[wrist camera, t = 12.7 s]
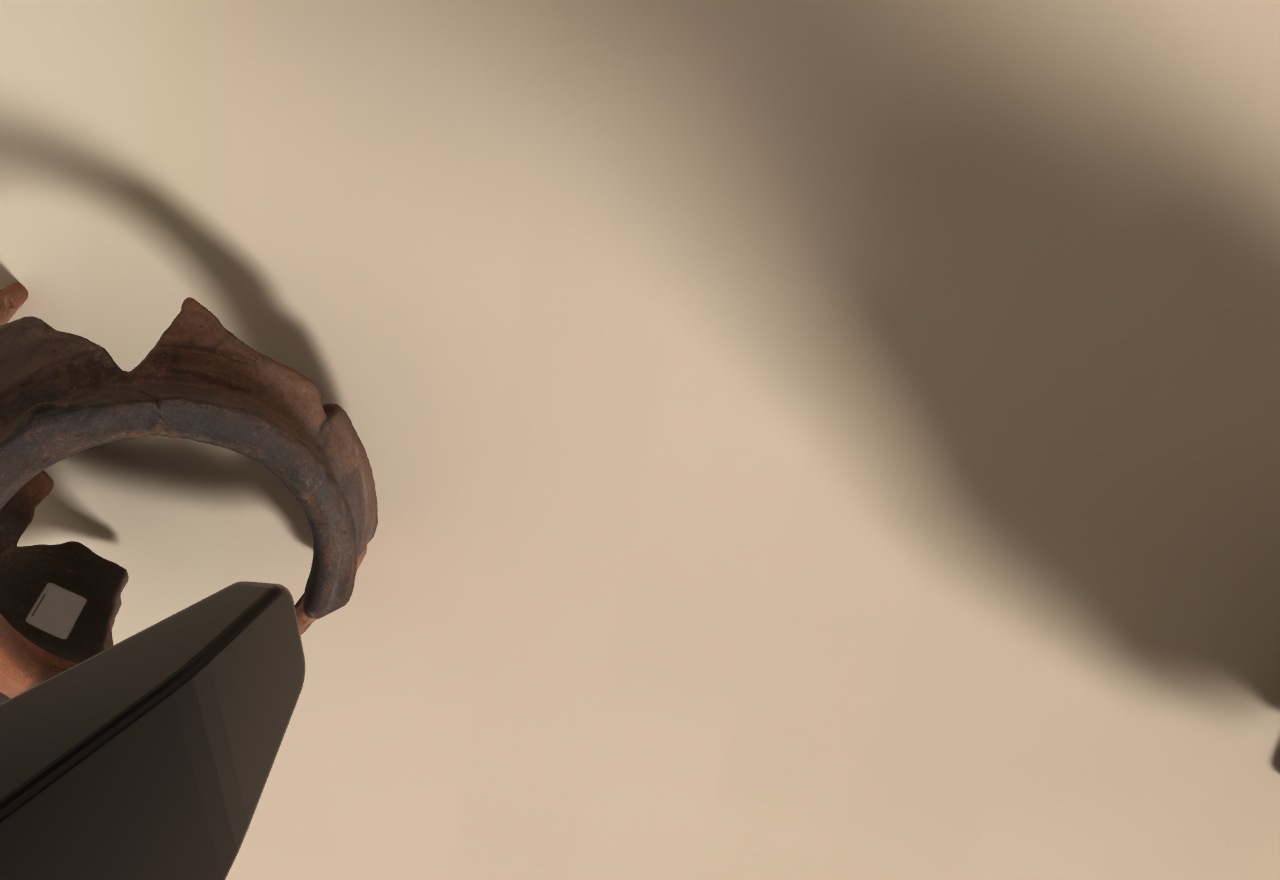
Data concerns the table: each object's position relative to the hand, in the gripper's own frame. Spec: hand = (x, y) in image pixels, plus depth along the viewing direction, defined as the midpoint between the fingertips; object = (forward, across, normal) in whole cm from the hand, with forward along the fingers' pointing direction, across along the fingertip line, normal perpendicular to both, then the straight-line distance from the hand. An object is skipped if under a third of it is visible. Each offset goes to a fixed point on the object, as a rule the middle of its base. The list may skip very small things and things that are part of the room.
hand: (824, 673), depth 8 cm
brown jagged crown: (+13, +14, +6) cm, 21 cm away
